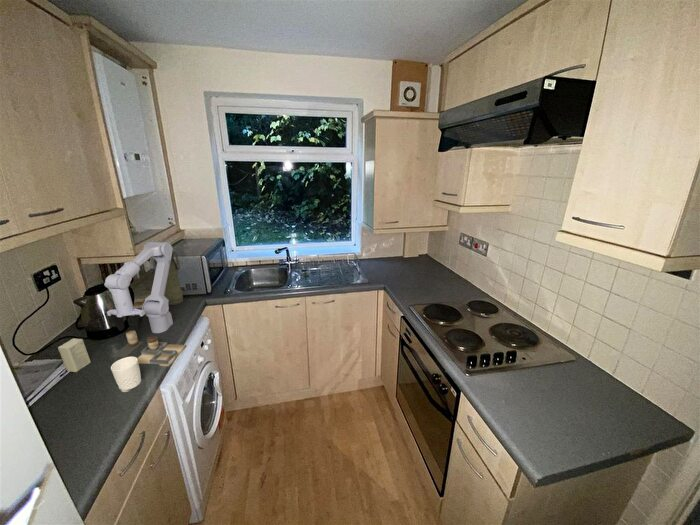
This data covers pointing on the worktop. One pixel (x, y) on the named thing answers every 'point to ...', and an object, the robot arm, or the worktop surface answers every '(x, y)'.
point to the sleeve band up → (153, 343)
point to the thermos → (173, 282)
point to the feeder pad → (126, 350)
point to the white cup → (126, 373)
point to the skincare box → (74, 354)
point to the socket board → (161, 354)
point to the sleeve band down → (132, 338)
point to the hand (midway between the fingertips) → (130, 329)
